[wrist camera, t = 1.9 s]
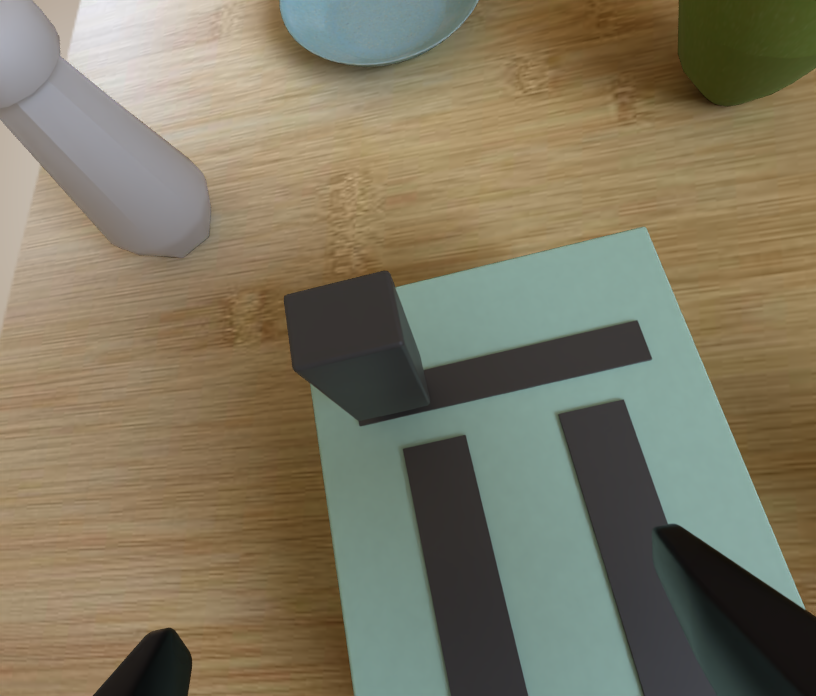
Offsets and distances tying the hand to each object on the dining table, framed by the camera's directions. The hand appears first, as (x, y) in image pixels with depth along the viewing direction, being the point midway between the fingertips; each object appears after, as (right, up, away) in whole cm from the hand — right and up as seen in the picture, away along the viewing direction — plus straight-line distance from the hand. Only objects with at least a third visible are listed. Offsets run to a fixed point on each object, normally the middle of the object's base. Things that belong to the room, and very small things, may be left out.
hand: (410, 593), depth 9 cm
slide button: (0, +3, +5) cm, 6 cm away
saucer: (-1, +25, +22) cm, 33 cm away
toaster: (+4, -3, +12) cm, 13 cm away
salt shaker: (-13, +11, +19) cm, 26 cm away
